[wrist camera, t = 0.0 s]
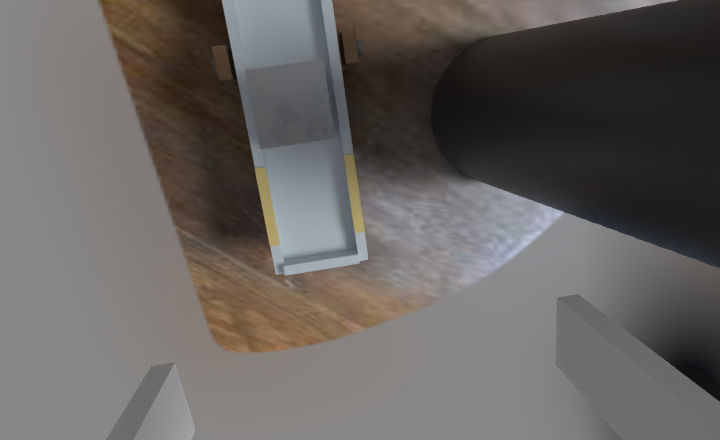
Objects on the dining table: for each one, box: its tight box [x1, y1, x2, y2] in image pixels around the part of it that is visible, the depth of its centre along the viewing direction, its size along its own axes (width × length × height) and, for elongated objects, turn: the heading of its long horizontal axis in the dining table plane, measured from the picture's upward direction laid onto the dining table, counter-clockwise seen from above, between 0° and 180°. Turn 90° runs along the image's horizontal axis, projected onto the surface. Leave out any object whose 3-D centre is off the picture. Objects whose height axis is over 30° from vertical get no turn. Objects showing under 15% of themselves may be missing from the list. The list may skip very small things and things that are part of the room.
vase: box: [432, 0, 720, 268], centre depth 27 cm, size 14×14×29 cm
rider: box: [245, 59, 335, 149], centre depth 30 cm, size 5×5×6 cm
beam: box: [222, 0, 368, 275], centre depth 30 cm, size 34×8×6 cm, turn 8°
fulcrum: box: [211, 28, 363, 83], centre depth 34 cm, size 3×12×6 cm, turn 97°
